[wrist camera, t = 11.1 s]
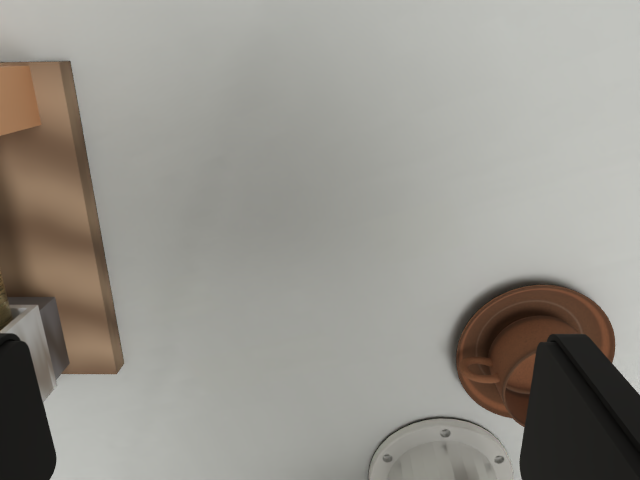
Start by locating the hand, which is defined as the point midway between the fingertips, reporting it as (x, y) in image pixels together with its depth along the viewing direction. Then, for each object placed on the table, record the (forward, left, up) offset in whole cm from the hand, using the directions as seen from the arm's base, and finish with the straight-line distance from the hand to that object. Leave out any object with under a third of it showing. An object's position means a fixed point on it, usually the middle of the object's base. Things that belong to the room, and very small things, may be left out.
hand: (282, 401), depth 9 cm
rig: (-7, +23, -28) cm, 37 cm away
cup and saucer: (-16, -16, -29) cm, 37 cm away
